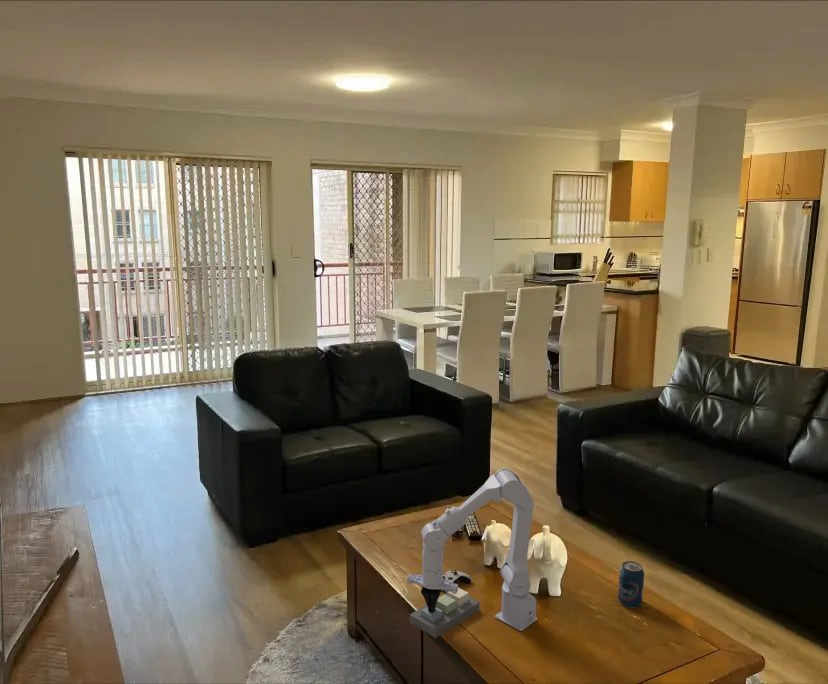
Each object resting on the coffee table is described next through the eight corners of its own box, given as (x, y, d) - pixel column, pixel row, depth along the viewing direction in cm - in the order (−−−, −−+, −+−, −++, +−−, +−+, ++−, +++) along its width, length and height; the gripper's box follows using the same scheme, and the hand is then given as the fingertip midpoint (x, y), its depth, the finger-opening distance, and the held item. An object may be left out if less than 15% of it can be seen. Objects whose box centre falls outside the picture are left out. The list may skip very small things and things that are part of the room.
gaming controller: (454, 595, 203) (441, 575, 205) (442, 604, 207) (429, 583, 209) (474, 580, 212) (461, 560, 214) (462, 588, 216) (449, 569, 218)
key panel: (479, 610, 198) (479, 602, 197) (435, 638, 184) (435, 629, 184) (453, 596, 204) (453, 588, 204) (409, 622, 191) (409, 614, 191)
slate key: (442, 622, 190) (442, 610, 190) (432, 628, 187) (432, 616, 187) (431, 615, 193) (431, 604, 193) (421, 621, 190) (421, 610, 190)
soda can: (615, 605, 200) (618, 568, 198) (620, 594, 206) (622, 558, 204) (639, 611, 197) (642, 574, 195) (643, 600, 203) (646, 563, 201)
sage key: (455, 611, 194) (455, 600, 193) (446, 617, 191) (446, 605, 190) (444, 605, 197) (444, 594, 196) (434, 610, 194) (435, 599, 194)
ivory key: (468, 603, 198) (468, 592, 197) (459, 609, 195) (459, 598, 194) (456, 597, 201) (456, 586, 200) (447, 602, 198) (447, 592, 197)
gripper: (461, 564, 188) (460, 608, 191) (413, 554, 193) (413, 597, 196) (453, 576, 182) (452, 622, 184) (404, 566, 187) (404, 610, 189)
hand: (432, 610), depth 190 cm, fingers closed, pressing on slate key
